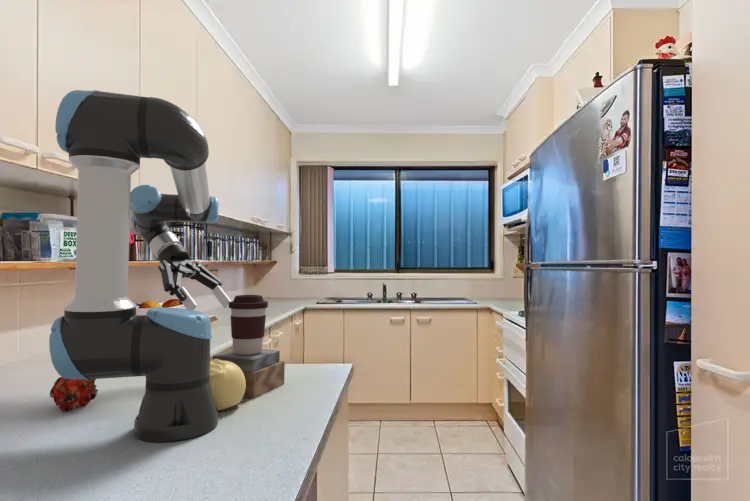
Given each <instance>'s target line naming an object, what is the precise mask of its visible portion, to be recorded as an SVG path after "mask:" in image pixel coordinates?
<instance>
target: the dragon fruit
mask: <svg viewBox="0 0 750 501" xmlns="http://www.w3.org/2000/svg"><path fill="white" fill-rule="evenodd" d="M96 380H97V379H93V380H85V379H77V380H70V379H65V378H63V377H62V376H60V377H58V378H57V379H56V380H55V381H54V383H53V386H52V388H51V389H50V391H49V397H50V398H52V400H53V401H54V403H55V405H56V406H57V407H58V408H59V409H60V411H61V412H63V413H66V412H70V411H72V410H73V409H74V408H79V407H82V408H84V407H86V406H88V405H89V403H91V401H93V400H94V399H95V398H96V397H97V396H98V391H99V390H98V389H97V385H96V384H95V383H96V382H95V381H96Z"/></svg>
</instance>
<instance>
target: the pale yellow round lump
mask: <svg viewBox="0 0 750 501" xmlns="http://www.w3.org/2000/svg"><path fill="white" fill-rule="evenodd" d="M210 388H211V391H212V395H213V398H214V403H215V406H216V407H217V410H218V412H219V411H222V410H225V409H229V408H232V407H235V406H237V405H238V404H239V403H240V402H241V401H242V400H243V398H244V397H243V396H244V393H245V388H246V381H245V376H244V374H243V372H242V370H241V369H240V367H239V366H238V365H236V364H235V363H232V362H230V361H224V360H219V359H214V360H213V359H210Z"/></svg>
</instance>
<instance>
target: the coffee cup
mask: <svg viewBox="0 0 750 501" xmlns="http://www.w3.org/2000/svg"><path fill="white" fill-rule="evenodd" d="M268 307H269V302H268V300H264V298H263V296H262V295H261V294H239V295H235V296H234V299H233V300H231V302H229V305H228V308H229V309H230V312H231V313H230V332H231V338H232V350H233V353H234V354H236V355H255V354H259V353H261V352H262V349H263V343H264V337H265V330H266V329H265V328H266V318H267V317H266V316H267V315H266V309H267V308H268Z"/></svg>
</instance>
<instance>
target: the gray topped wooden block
mask: <svg viewBox="0 0 750 501" xmlns="http://www.w3.org/2000/svg"><path fill="white" fill-rule="evenodd" d="M280 358H281V356H280V350H276V349H263V348H262V352H261V353H259V354H255V355H236V354H234V353H233V349H232V350H229V351H225V352H222V353H218V354H215V355H212V360H214V359H219V360H224V361H230V362H232V363H235V364H236V365H238V366H239V367H240V369H241V370H242V372H243V374H244V376H245V381H246V388H245V393H244V396H243V398H246V399H256V398H258V397H261V395H264V394H266V393H269V392H271V391H272V390H275V389H277V388H278V387H281V386H284V384H285V370H286V369H285V367H286V366H285V365H286V364H285V362H286V361H284V360H283V361H282V360H280Z"/></svg>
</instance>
